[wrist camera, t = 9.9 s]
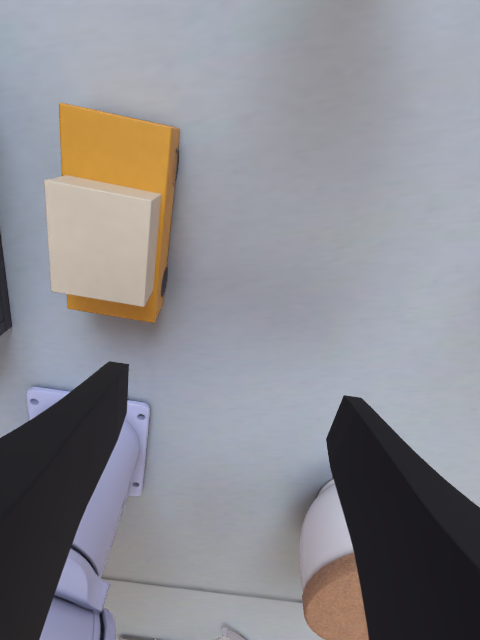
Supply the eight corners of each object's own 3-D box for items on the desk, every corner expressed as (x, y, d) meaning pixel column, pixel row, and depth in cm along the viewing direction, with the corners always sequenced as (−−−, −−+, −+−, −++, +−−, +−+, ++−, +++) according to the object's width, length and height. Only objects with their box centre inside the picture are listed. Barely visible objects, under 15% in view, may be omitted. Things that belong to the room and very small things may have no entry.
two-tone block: (164, 302, 20) (145, 342, 16) (87, 288, 20) (48, 326, 16) (182, 128, 16) (162, 125, 12) (85, 108, 16) (32, 96, 12)
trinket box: (447, 465, 27) (543, 614, 18) (384, 544, 31) (437, 691, 23) (316, 438, 25) (355, 585, 17) (271, 525, 30) (284, 673, 22)
